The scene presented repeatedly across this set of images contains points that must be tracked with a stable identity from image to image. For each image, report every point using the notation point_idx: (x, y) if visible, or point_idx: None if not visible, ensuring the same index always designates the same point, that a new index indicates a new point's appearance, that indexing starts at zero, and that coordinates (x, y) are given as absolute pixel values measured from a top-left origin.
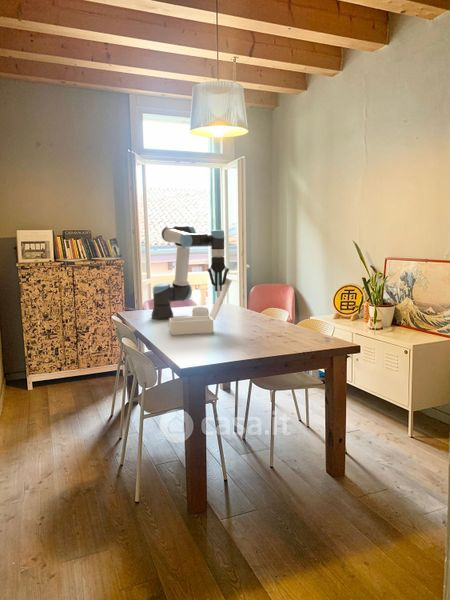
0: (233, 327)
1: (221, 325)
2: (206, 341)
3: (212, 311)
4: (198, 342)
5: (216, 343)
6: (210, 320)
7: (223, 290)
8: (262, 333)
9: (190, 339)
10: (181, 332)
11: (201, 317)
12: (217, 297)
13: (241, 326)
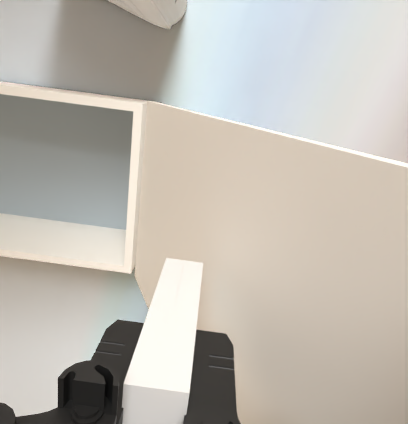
0: (332, 126)
1: (287, 16)
2: None
3: (156, 157)
4: (32, 376)
5: None
6: (111, 268)
7: (266, 371)
8: None
9: (4, 314)
10: None
11: (79, 103)
12: (221, 140)
13: (400, 116)
